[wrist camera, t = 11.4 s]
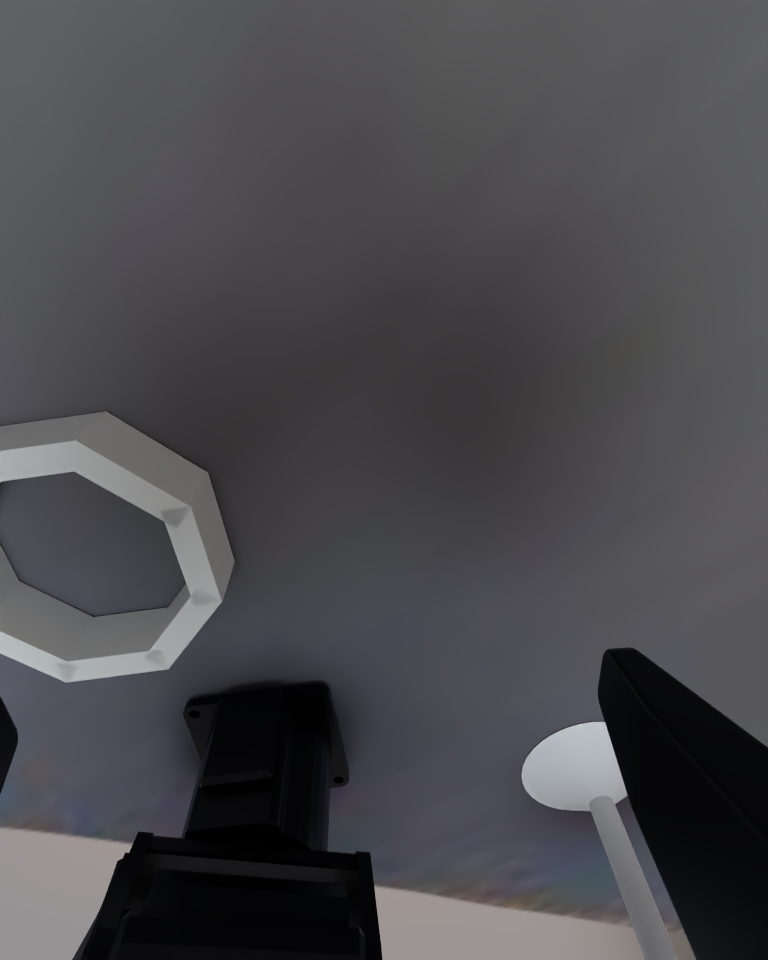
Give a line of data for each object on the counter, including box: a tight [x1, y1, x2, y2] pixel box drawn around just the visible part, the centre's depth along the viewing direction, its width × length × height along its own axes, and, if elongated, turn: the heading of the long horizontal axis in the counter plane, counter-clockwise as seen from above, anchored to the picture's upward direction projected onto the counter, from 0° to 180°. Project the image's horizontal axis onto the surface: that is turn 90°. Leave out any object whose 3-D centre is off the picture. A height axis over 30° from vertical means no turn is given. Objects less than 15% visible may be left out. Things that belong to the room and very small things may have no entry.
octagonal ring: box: [0, 411, 235, 683], centre depth 21 cm, size 10×10×2 cm
